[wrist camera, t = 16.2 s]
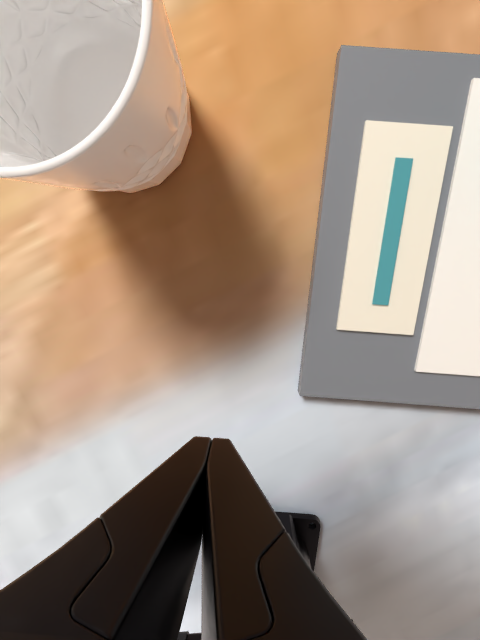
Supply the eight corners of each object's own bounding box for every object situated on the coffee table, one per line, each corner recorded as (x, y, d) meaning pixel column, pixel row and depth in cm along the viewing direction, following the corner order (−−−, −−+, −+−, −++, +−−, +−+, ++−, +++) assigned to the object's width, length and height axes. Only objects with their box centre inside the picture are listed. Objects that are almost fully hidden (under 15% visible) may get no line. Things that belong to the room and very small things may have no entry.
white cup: (175, 4, 17) (74, -312, 7) (223, 180, 18) (195, 123, 9) (19, 59, 17) (-271, -159, 8) (79, 223, 19) (-95, 215, 9)
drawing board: (575, 410, 21) (592, 419, 20) (297, 389, 21) (300, 398, 20) (681, 77, 17) (710, 67, 16) (337, 53, 17) (343, 42, 16)
